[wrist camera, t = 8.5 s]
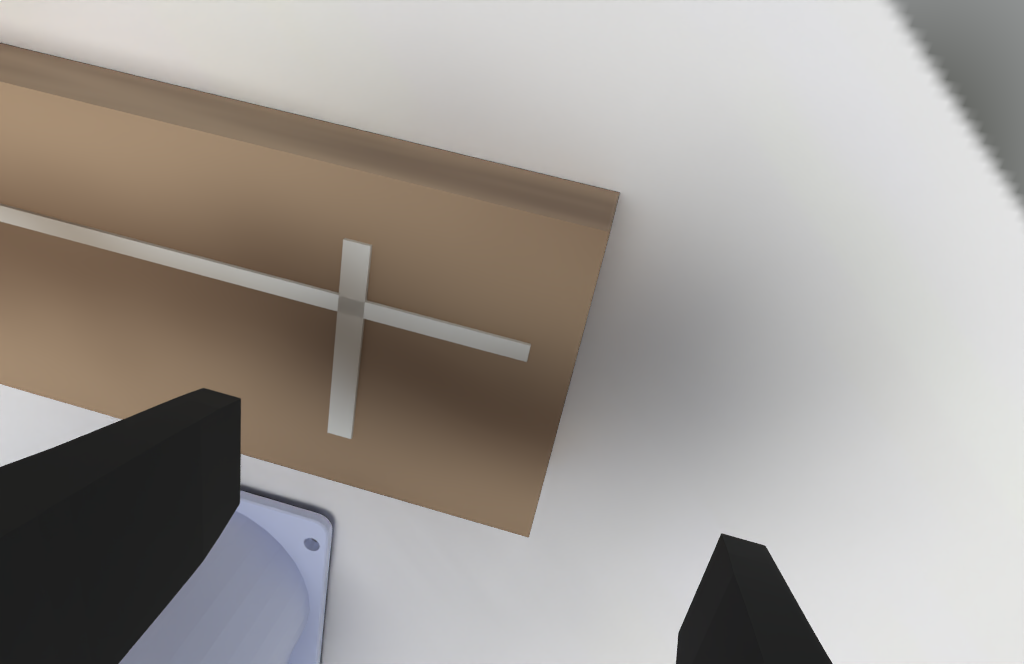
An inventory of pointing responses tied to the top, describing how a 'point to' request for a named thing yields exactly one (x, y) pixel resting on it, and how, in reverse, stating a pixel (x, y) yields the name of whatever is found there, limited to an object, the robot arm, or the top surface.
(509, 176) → the walnut plank
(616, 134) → the top surface
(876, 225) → the top surface
